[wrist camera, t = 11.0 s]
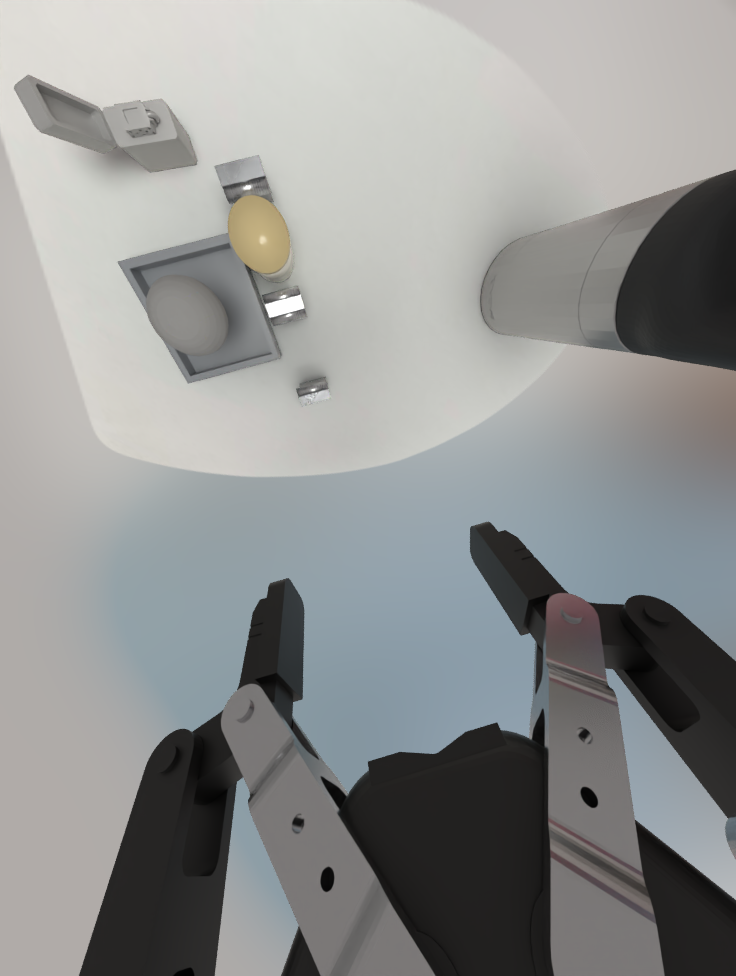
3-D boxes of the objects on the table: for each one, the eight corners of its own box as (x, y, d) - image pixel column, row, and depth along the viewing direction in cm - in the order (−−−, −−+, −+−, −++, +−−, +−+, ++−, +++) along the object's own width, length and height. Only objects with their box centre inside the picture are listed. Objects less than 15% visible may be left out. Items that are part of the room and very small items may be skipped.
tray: (238, 237, 26) (232, 232, 24) (281, 355, 31) (279, 358, 29) (132, 265, 25) (117, 261, 23) (195, 378, 31) (188, 383, 29)
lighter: (187, 131, 22) (135, 56, 15) (198, 164, 23) (154, 106, 16) (95, 147, 21) (1, 76, 15) (111, 179, 22) (29, 126, 16)
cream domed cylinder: (282, 220, 25) (271, 184, 19) (302, 274, 28) (299, 260, 21) (240, 238, 26) (215, 208, 19) (264, 290, 28) (248, 281, 21)
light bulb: (181, 330, 28) (129, 341, 20) (187, 269, 26) (132, 252, 17) (238, 354, 30) (212, 372, 22) (249, 299, 28) (224, 296, 19)
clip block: (269, 185, 24) (259, 155, 19) (327, 385, 34) (331, 398, 29) (233, 194, 24) (214, 165, 19) (302, 392, 34) (301, 406, 29)
